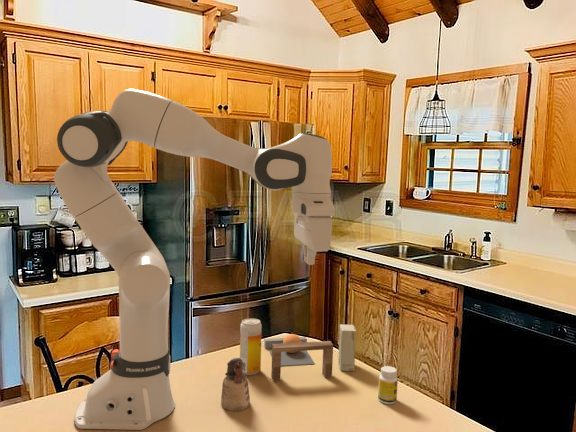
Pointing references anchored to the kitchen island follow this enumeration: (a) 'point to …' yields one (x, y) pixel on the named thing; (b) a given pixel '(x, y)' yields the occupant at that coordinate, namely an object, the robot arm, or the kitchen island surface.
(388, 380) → the supplement bottle
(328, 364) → the bridge
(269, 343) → the stopper
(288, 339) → the ball
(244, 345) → the beer can
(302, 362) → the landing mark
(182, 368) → the kitchen island surface
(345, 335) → the skincare box
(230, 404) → the figurine
